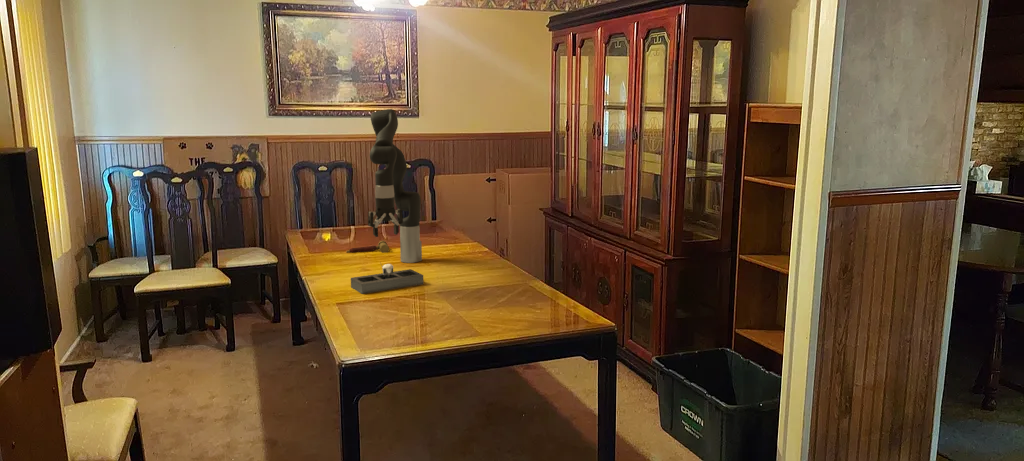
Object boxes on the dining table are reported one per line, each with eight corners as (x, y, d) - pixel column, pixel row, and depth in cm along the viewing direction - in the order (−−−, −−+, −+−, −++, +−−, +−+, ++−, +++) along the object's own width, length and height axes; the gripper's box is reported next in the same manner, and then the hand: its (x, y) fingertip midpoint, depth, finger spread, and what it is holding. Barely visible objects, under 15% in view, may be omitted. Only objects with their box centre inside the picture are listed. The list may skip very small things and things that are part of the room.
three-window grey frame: (411, 278, 301) (410, 269, 301) (423, 284, 292) (423, 275, 291) (351, 287, 287) (350, 277, 286) (362, 294, 277) (361, 284, 276)
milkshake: (381, 284, 291) (380, 261, 289) (394, 284, 292) (393, 260, 290) (380, 287, 287) (379, 263, 285) (393, 287, 287) (392, 263, 285)
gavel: (346, 249, 346) (345, 245, 355) (347, 258, 347) (346, 253, 356) (388, 244, 351) (386, 240, 361) (389, 252, 352) (387, 248, 362)
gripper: (397, 193, 289) (398, 232, 292) (364, 196, 281) (366, 235, 284) (404, 195, 283) (406, 235, 286) (371, 198, 275) (373, 238, 278)
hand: (386, 235), depth 285 cm, fingers open, 8 cm apart
